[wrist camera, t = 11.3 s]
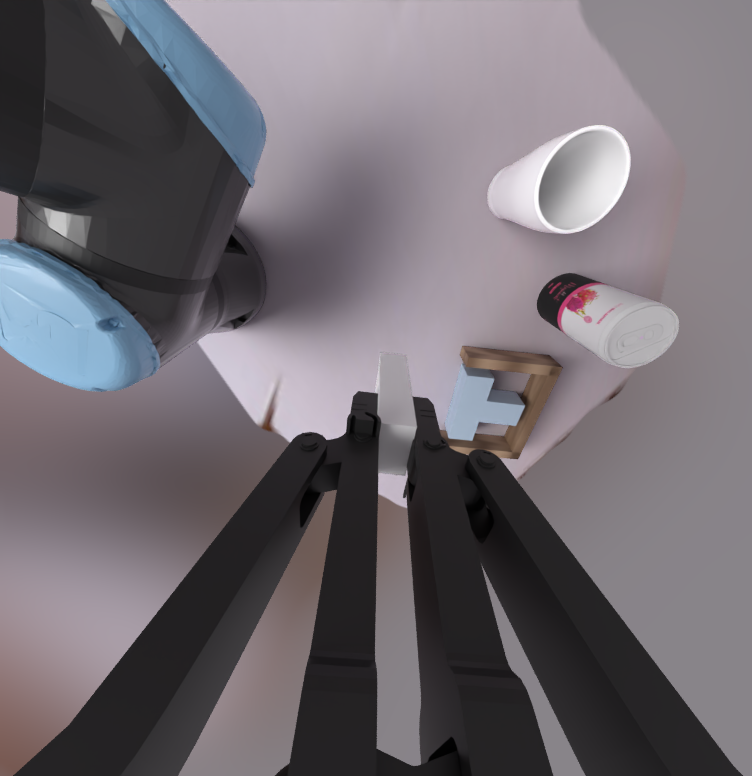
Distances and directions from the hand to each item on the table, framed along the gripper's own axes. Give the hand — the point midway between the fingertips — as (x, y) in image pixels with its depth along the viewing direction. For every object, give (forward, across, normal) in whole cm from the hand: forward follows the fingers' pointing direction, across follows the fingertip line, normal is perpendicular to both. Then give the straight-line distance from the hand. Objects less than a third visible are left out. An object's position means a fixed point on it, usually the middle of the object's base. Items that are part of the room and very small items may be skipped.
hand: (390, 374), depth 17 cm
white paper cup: (+27, +13, +12) cm, 32 cm away
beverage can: (+27, +24, +1) cm, 36 cm away
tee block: (+26, +18, -17) cm, 36 cm away
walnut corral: (+26, +19, -17) cm, 37 cm away
